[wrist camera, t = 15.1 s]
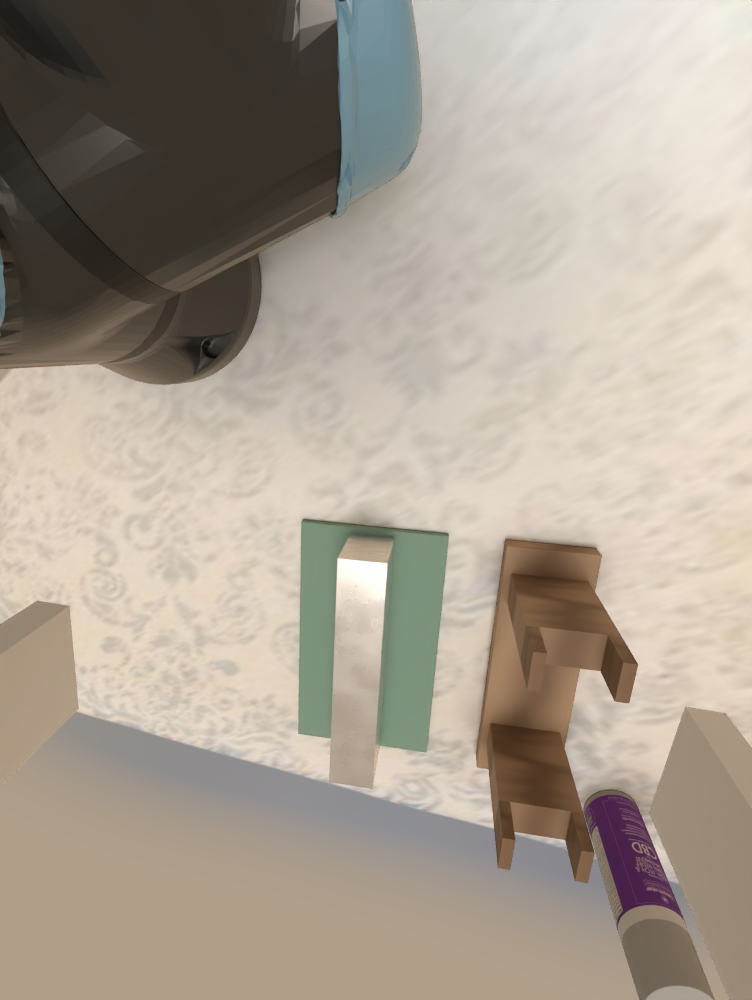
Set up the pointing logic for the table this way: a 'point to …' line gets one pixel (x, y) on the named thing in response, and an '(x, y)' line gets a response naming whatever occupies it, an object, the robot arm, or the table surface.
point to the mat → (407, 634)
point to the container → (643, 903)
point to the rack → (544, 691)
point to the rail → (360, 657)
